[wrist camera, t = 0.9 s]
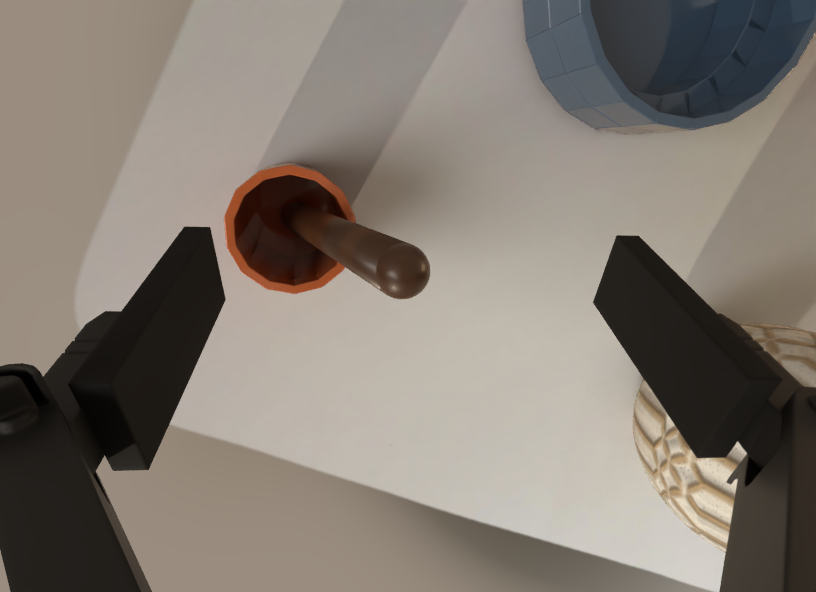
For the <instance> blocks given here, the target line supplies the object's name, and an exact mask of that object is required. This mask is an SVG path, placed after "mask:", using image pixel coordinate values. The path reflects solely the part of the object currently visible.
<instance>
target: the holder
mask: <svg viewBox="0 0 816 592" xmlns="http://www.w3.org/2000/svg"><path fill="white" fill-rule="evenodd" d="M293 201H296V202H300V203H303V204H305V205H308V206H311V207H313V208H316V209H319V210H321V211H324V212H327V213H329V214H332V215H335V216H337V217H340V218H343V219H345V220H348V221H351V222H353V223H356V218H355V215H354V213H353V211H352V209H351V207H350V205H349V203H348V201H347V198H346V196H345V194H344V192H343V191H342V190H341V189H340V188H338V187H337V186H336V185H335V184H334V183H332V182H331V181H330V180H329V179H328V178H326V177H325V176H324V175H323V174H321V173H320V172H318V171H317V170H315V169H313V168H311V167H307V166H303V165H299V164H295V163H291V162H288V163H283V164H278V165H274V166H269V167H266V168H264V169H262V170H260V171H258V172H257V173H256V174H255V175H253V176H252V177H251V178H250V179H248V180H247V181H246V182H245V183H243V184H242V185H241V186H240V187H238V188H237V189H236V191H235V193H234V195H233V197H232V200H231V202H230V204H229V207H228V209H227V211H226V214H225V216H224V223H225V235H226V246H227V249H228V250H229V252H230V254H231V255H232V257H233V259H234V260H235V262H236V264H237V265H238V267H239V268H240V270H241V272H242V273H243V274H245V275H246V276H248V277H249V278H251V279H252V280H254V281H255V282H257V283H258V284H260V285H261V286H263V287H264V288H267V289H269V290H275V291H281V292H287V293H292V294H297V293H301V292H305V291H309V290H313V289H317V288H321V287H323V286H324V285H326V284H327V283H328V282H329V281H331V280H332V279H333V278H334V277H336V276H337V275H338V274H339V273H341V272H342V271H343V270H344V268H345V266H343V265H342V264H340V263H339V262H337V261H336V260H334V259H333V258H331V257H330V256H328V255H327V254H325V253H324V252H322V251H321V250H319V249H318V248H316V247H315V246H313V245H312V244H310V243H309V242H307V241H306V240H304V239H303V238H301V237H300V236H298V235H297V234H295V233H294V232H292V231H291V230H289V229H288V228H286V227H285V226H284V225H283V223H282V221H281V218H280V212H281V209H282V208H283V206H284V205H285V204H287V203H289V202H293Z"/></svg>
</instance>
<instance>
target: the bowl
mask: <svg viewBox="0 0 816 592" xmlns="http://www.w3.org/2000/svg"><path fill="white" fill-rule="evenodd" d="M523 11H524V23H525V34H526V39H527V40H526V42H527V44H528V47H529V50H530V53H531V55H532V58H533V61H534V63H535V66H536V69H537V71H538V74H539V77H540V79H541V80H542V82H543V83H544V85H545V86H546V87H547V89H548V90H549V91H550V92H551V94H552V95H553V96H554V98H555V99H556V100H557V101H558V103H559V104H560V105H561V107H562V108H563V109H564V110H565V111H566V112H568V113H569V114H571V115H572V116H574V117H576V118H577V119H579V120H581V121H582V122H584V123H585V124H587V125H589V126H590V127H592V128H594V129H597V130H603V131H609V132H615V133H621V134H636V133H653V132H669V131H686V130H695V129H700V128H704V127H709V126H713V125H718V124H722V123H727V122H729V121H731V120H733V119H735V118H736V117H738V116H740V115H741V114H743V113H744V112H746V111H748V110H749V109H751V108H752V107H754V106H756V105H757V104H759V103H761V102H762V101H764V99H766V98H767V97H768V96H769V95H770V94H771V93H772V92H773V90H774V89H775V88H776V87H777V86H778V85H779V84H780V83H781V82H782V81H783V80H784V79H785V77H786V76H787V75H788V74H789V73H790V72H791V71H792V70H793V69H794V68H795V66H796V65H797V64H798V62H799V60H800V59H801V57H802V55H803V53H804V52H805V50H806V48H807V46H808V44H809V43H810V41H811V39H812V37H813V36H814V34H815V32H816V0H523Z"/></svg>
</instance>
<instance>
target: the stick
mask: <svg viewBox="0 0 816 592" xmlns="http://www.w3.org/2000/svg"><path fill="white" fill-rule="evenodd" d="M280 218H281V221H282V223H283V225H284V226H285V227H286V228H288V229H289V230H291V231H292V232H294V233H295V234H297V235H298V236H300V237H301V238H303V239H304V240H306V241H307V242H309V243H310V244H312V245H313V246H315V247H316V248H318V249H319V250H321V251H322V252H324V253H325V254H327V255H328V256H330V257H331V258H333V259H334V260H336V261H337V262H339V263H340V264H342V265H343V266H345V267H346V268H348V269H349V270H351V271H352V272H354V273H355V274H357V275H358V276H360V277H361V278H363V279H364V280H365V281H367V282H368V283H370V284H371V285H373V286H374V287H376V288H377V289H379V290H380V291H382V292H383V293H385V294H386V295H388V296H390V297H393V298H396V299H408V298H412V297H414V296H416V295H417V294H419V293H420V292H421V291H422V290H423V289H424V288H425V287H426V285H427V283H428V281H429V277H430V265H429V261H428V259H427V257H426V256H425V254H424V253H423V252H422V251H421V250H420V249H419V248H417V247H416V246H414V245H412V244H409V243H406V242H404V241H401V240H398V239H396V238H393V237H390V236H388V235H385V234H382V233H380V232H377V231H374V230H372V229H369V228H366V227H364V226H361V225H359V224H356V223H353V222H351V221H348V220H345V219H343V218H340V217H337V216H335V215H332V214H329V213H327V212H324V211H321V210H319V209H316V208H313V207H311V206H308V205H305V204H303V203H300V202H296V201H293V202H289V203H287V204H285V205H284V206H283V208H282V209H281V212H280Z"/></svg>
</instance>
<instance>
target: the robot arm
mask: <svg viewBox="0 0 816 592" xmlns="http://www.w3.org/2000/svg"><path fill="white" fill-rule="evenodd" d="M224 302H225V295H224V290H223V286H222V281H221V276H220V271H219V267H218V262H217V257H216V253H215V248H214V243H213V239H212V234H211V229H210V227H184V228H183V229H182V231H181V232H180V233H179V235H178V236H177V237H176V239H175V240H174V241H173V243H172V244H171V246H170V247H169V248H168V250H167V251H166V252H165V254H164V255H163V256H162V258H161V259H160V260H159V262H158V263H157V264H156V266H155V267H154V268H153V270H152V271H151V272H150V274H149V275H148V276H147V278H146V279H145V280H144V282H143V283H142V284H141V286H140V287H139V289H138V290H137V291H136V293H135V294H134V295H133V297H132V298H131V299H130V301H129V302H128V303H127V305H126V306H125V307H124V309H123V310H122V311H121V312H115V311H105V312H104V313H102V314H101V315H99V316H98V317H96V318H95V319H93V320H92V321H90V322H89V323H87V324H86V325H85V326H84V328H83V329H82V330H81V331H80V333H79V334H78V335H77V337H75V341H72V342H71V344H70V345H69V346H68V347H67V349H66V350H65V353H62V355H61V356H60V357H59V358H58V359H57V361H56V362H55V363H54V365H53V366H52V367H51V368H50V369H49V371H48V372H47V373H46V374H45V376H44V377H43V376H42V375H41V373H40V371H38V369H37V368H35V367H34V366H32V365H27V364H23V363H22V364H8V365H4V366H0V550H1V554H2V558H3V562H4V566H5V570H6V574H7V579H8V583H9V586H10V591H11V592H152V591H151V589H150V586H149V584H148V582H147V580H146V578H145V576H144V573H143V571H142V569H141V567H140V565H139V563H138V560H137V558H136V556H135V554H134V552H133V550H132V547H131V545H130V543H129V541H128V539H127V537H126V534H125V532H124V530H123V528H122V526H121V524H120V522H119V519H118V517H117V515H116V513H115V511H114V508H113V506H112V504H111V502H110V500H109V498H108V495H107V493H106V491H105V489H104V487H103V485H102V483H101V480H100V478H99V476H98V475H97V473H96V469H97V468H98V466H99V464H100V462H101V461H102V458H103V457H104V455H105V456H106V458H107V460H108V462H109V464H110V466H111V468H112V470H113V471H117V470H118V471H122V470H149V468H150V465H151V463H152V461H153V458H154V456H155V454H156V452H157V450H158V447H159V446H160V443H161V441H162V439H163V437H164V434H165V432H166V430H167V428H168V426H169V423H170V421H171V419H172V417H173V415H174V412H175V410H176V408H177V406H178V404H179V401H180V399H181V397H182V395H183V392H184V390H185V388H186V386H187V384H188V381H189V379H190V377H191V375H192V373H193V370H194V368H195V366H196V364H197V362H198V359H199V357H200V355H201V353H202V350H203V348H204V346H205V344H206V342H207V339H208V337H209V335H210V333H211V331H212V328H213V326H214V324H215V322H216V320H217V317H218V315H219V313H220V311H221V308H222V306H223V304H224ZM593 303H594V305H595V306H596V308H597V309H598V311H599V312H600V314H601V315H602V317H603V318H604V320H605V321H606V323H607V324H608V326H609V327H610V329H611V330H612V332H613V333H614V335H615V336H616V338H617V339H618V341H619V342H620V344H621V345H622V347H623V348H624V350H625V351H626V353H627V354H628V356H629V357H630V359H631V360H632V362H633V363H634V365H635V366H636V368H637V369H638V371H639V372H640V374H641V375H642V377H643V378H644V380H645V381H646V383H647V384H648V386H649V387H650V389H651V390H652V392H653V393H654V395H655V396H656V398H657V399H658V401H659V402H660V404H661V405H662V407H663V408H664V410H665V411H666V413H667V414H668V416H669V417H670V419H671V420H672V422H673V423H674V425H675V426H676V428H677V429H678V431H679V432H680V434H681V435H682V437H683V438H684V440H685V441H686V443H687V444H688V446H689V447H690V449H691V450H692V452H693V453H694V455H695V456H696V458H726V457H727V455H728V454H729V453H730V451H731V450H732V449H733V447H734V446H735V444H736V443H737V442H739V444H740V445H741V446H742V448H743V449H744V450H745V451H746V453H747V454H746V456H745V457H744V458H743V460H742V461H741V462H740V463H739V465H738V466H737V467H736V469H735V470H734V471H733V473H732V474H731V475H730V477H729V478H728V480H727V481H726V483H728V484H730V485H731V484H732V483H733V482H734V480H735V479H738V480H737V487H736V493H735V499H734V505H733V511H732V518H731V524H730V530H729V536H728V542H727V549H726V555H725V561H724V567H723V574H722V580H721V586H720V592H816V387H804V386H803V385H801V384H800V383H799V382H798V381H797V380H796V379H795V378H794V377H793V376H792V375H791V374H790V373H789V372H788V371H787V370H786V369H785V368H784V367H783V366H782V365H781V364H780V363H779V362H778V361H777V360H775V359H774V358H773V357H772V356H771V355H770V354H769V353H768V352H767V351H764V348H763V347H762V346H761V345H760V344H759V343H758V342H757V341H756V340H753V337H752V336H751V335H749V334H748V333H747V332H746V331H745V330H744V329H743V328H742V327H741V326H740V325H739V324H737V323H735V322H734V321H732V320H731V319H729V318H727V317H726V316H724V315H722V314H717V313H716V312H715V311H714V310H713V309H712V308H711V307H710V306H709V305H708V304H707V303H706V302H705V301H704V300H703V299H702V298H701V297H700V296H699V295H698V294H697V293H696V292H695V291H694V290H693V289H692V288H691V287H690V286H689V285H688V284H687V283H686V282H685V281H684V280H683V279H682V278H681V277H680V276H679V275H678V274H677V273H676V272H674V271H673V270H672V269H671V268H670V267H669V266H668V265H667V264H666V263H665V262H664V261H663V260H662V259H661V258H660V257H659V256H658V255H657V254H656V253H655V252H654V251H653V250H652V249H651V248H650V247H649V246H648V245H647V244H646V243H645V242H644V241H643V240H642V239H641V238H640V237H639V236H618V235H617V236H616V239H615V242H614V245H613V247H612V250H611V253H610V256H609V259H608V262H607V264H606V267H605V270H604V273H603V276H602V279H601V281H600V284H599V287H598V290H597V293H596V296H595V299H594V301H593Z"/></svg>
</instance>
